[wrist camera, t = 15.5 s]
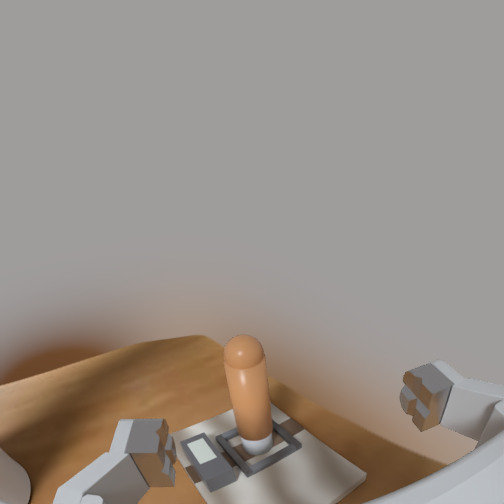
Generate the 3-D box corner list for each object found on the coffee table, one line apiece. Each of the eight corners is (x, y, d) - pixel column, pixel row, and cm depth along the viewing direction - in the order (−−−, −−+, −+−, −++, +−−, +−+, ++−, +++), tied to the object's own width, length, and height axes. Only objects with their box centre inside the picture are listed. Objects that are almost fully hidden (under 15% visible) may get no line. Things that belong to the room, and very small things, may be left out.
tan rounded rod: (252, 461, 29) (232, 353, 26) (234, 442, 32) (212, 336, 29) (281, 446, 31) (271, 337, 28) (262, 429, 34) (248, 323, 31)
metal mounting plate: (247, 556, 18) (244, 549, 17) (168, 442, 34) (164, 431, 34) (365, 480, 25) (368, 469, 24) (263, 402, 42) (261, 391, 41)
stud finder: (210, 492, 25) (205, 480, 24) (184, 454, 31) (179, 441, 30) (236, 480, 26) (233, 468, 26) (208, 444, 32) (203, 431, 32)
